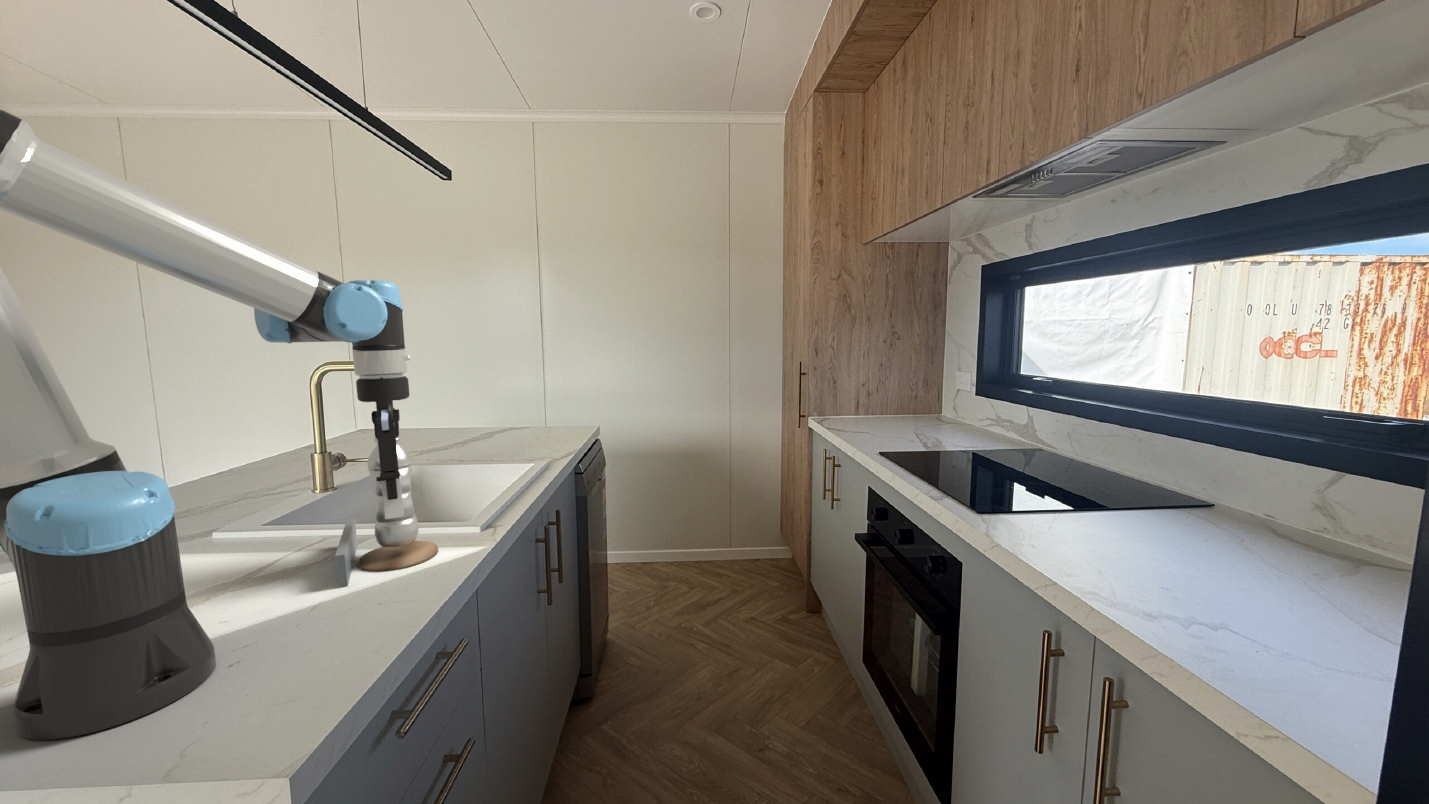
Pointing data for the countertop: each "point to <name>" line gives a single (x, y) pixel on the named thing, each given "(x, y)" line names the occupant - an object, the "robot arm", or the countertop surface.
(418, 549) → the walnut coaster
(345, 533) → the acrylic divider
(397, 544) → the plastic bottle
